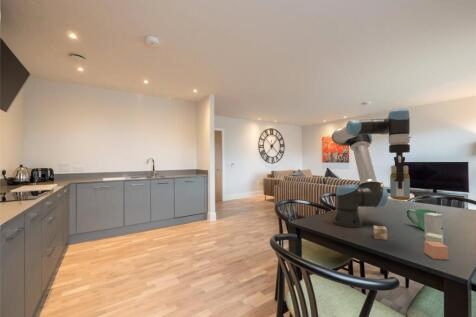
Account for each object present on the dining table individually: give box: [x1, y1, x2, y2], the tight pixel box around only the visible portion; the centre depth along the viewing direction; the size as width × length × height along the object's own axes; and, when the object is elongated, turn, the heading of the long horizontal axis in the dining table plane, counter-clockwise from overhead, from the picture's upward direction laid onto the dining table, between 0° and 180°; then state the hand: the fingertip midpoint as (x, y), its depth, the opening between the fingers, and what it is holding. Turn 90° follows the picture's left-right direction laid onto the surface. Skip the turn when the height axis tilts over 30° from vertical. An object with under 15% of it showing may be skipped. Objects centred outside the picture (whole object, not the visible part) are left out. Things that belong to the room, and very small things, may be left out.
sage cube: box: [425, 233, 444, 245], centre depth 93 cm, size 5×5×5 cm
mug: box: [406, 208, 440, 231], centre depth 116 cm, size 15×10×10 cm
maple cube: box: [373, 225, 388, 241], centre depth 104 cm, size 5×5×5 cm
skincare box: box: [424, 212, 444, 239], centre depth 101 cm, size 6×4×12 cm
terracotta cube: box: [423, 240, 449, 260], centre depth 84 cm, size 5×5×5 cm
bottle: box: [389, 165, 411, 201], centre depth 95 cm, size 7×7×15 cm
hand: (399, 194), depth 95 cm, fingers closed on bottle, 6 cm apart
